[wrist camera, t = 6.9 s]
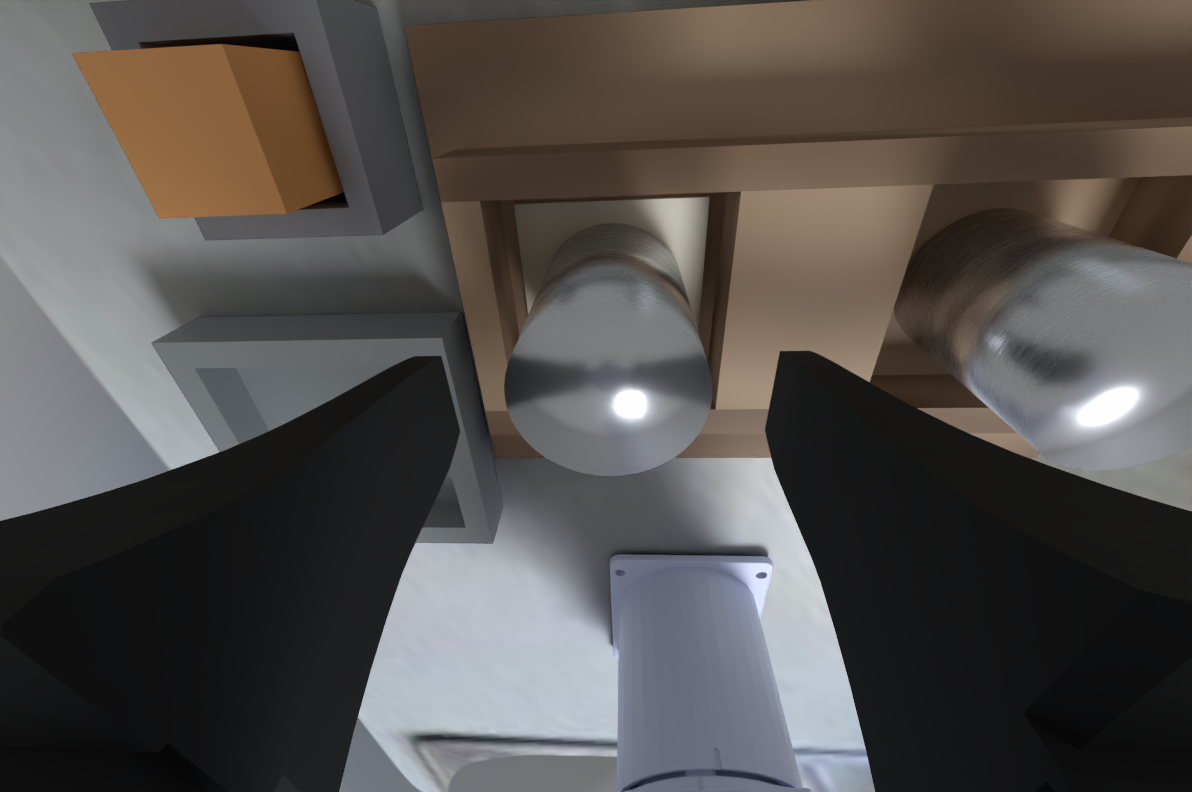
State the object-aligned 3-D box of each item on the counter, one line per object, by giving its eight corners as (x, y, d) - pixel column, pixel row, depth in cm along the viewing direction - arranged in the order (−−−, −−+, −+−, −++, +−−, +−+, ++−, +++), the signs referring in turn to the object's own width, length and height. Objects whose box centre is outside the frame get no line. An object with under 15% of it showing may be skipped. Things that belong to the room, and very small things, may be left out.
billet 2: (1015, 346, 15) (1201, 471, 10) (876, 348, 16) (993, 470, 11) (1085, 205, 13) (1370, 280, 8) (920, 210, 13) (1097, 286, 8)
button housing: (423, 209, 15) (382, 234, 12) (273, 214, 15) (205, 240, 13) (376, 7, 12) (312, -13, 10) (195, 19, 13) (89, 3, 10)
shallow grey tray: (503, 507, 22) (492, 543, 21) (302, 506, 23) (275, 540, 21) (460, 311, 17) (441, 337, 15) (198, 317, 18) (151, 343, 16)
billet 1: (676, 356, 16) (700, 478, 11) (548, 354, 16) (515, 473, 11) (689, 222, 14) (727, 303, 9) (539, 222, 14) (491, 300, 9)
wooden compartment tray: (1018, 440, 19) (1078, 495, 16) (500, 441, 20) (482, 492, 18) (1285, -24, 11) (1479, -56, 9) (418, 29, 12) (366, 15, 10)
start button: (352, 188, 13) (287, 213, 10) (248, 192, 13) (159, 218, 11) (311, 52, 11) (221, 43, 9) (193, 60, 11) (71, 53, 9)
